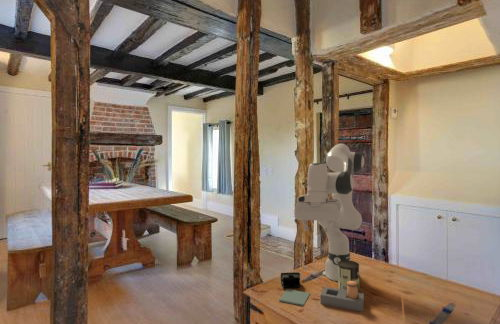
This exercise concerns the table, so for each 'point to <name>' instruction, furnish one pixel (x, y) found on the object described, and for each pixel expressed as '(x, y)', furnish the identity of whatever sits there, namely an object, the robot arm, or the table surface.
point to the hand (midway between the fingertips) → (316, 231)
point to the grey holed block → (341, 299)
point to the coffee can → (347, 273)
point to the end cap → (290, 280)
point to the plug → (352, 290)
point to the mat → (294, 297)
